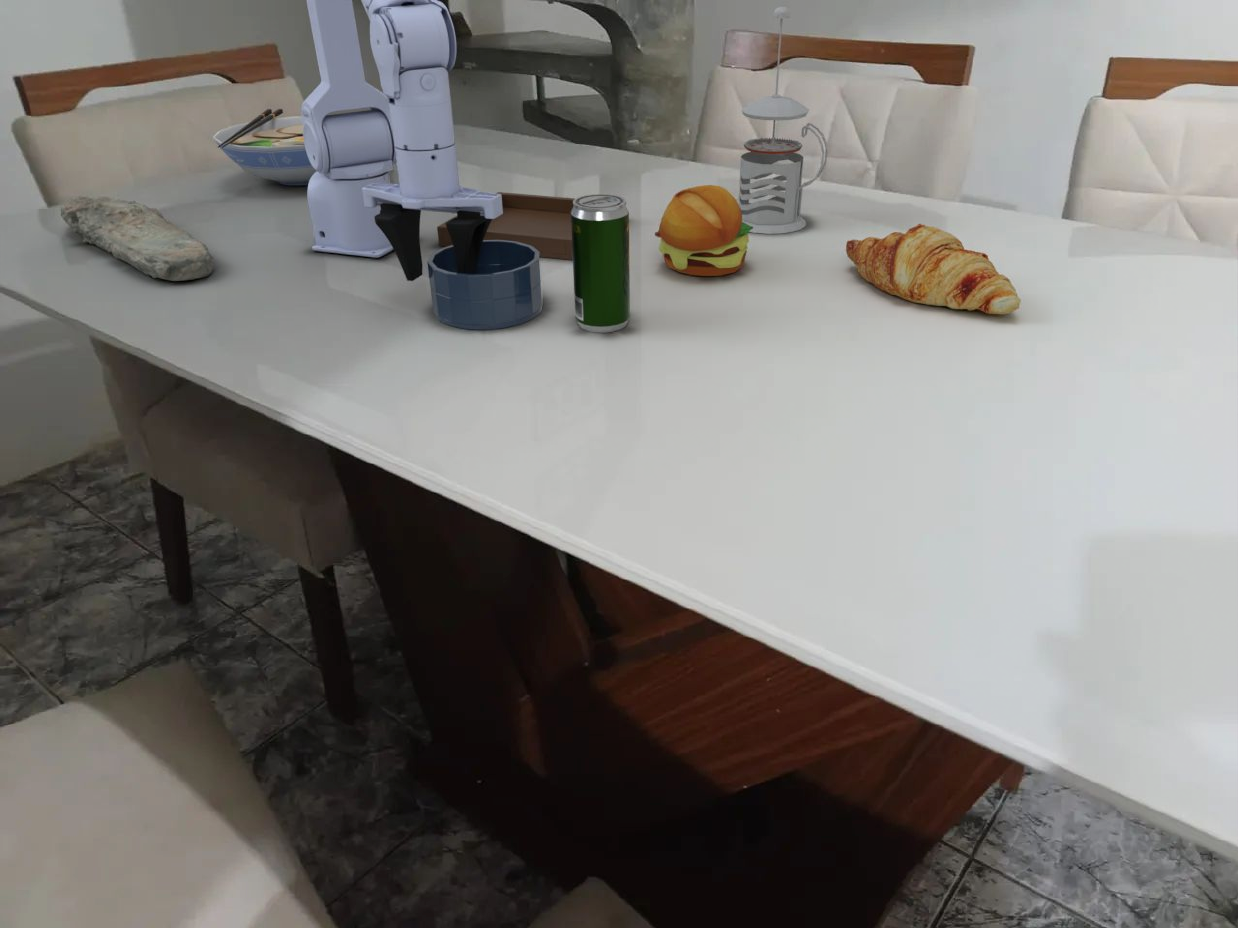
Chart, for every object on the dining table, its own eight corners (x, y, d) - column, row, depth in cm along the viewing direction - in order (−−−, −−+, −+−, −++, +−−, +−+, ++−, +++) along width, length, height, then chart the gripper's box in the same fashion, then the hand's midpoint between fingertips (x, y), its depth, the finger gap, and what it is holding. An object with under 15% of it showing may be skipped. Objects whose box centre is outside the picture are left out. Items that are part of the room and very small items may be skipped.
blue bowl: (414, 322, 93) (407, 268, 90) (466, 285, 102) (461, 235, 99) (514, 335, 90) (509, 280, 87) (559, 296, 98) (556, 245, 96)
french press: (744, 208, 126) (755, 2, 113) (829, 218, 121) (850, 4, 108) (718, 228, 118) (727, 9, 105) (807, 239, 114) (828, 12, 101)
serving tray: (438, 246, 114) (436, 226, 112) (499, 209, 127) (498, 191, 126) (572, 260, 108) (571, 240, 107) (621, 220, 122) (620, 202, 120)
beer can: (594, 338, 89) (590, 213, 82) (565, 320, 93) (559, 199, 86) (640, 325, 91) (640, 202, 85) (610, 309, 95) (608, 190, 89)
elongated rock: (152, 305, 101) (240, 286, 108) (142, 258, 99) (234, 242, 105) (45, 223, 122) (125, 212, 128) (35, 183, 119) (116, 173, 126)
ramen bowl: (356, 201, 132) (347, 141, 127) (196, 203, 132) (181, 143, 128) (395, 160, 153) (388, 107, 149) (257, 161, 153) (246, 109, 149)
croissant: (1023, 346, 94) (1061, 270, 92) (982, 325, 86) (1022, 242, 85) (856, 286, 108) (885, 219, 106) (808, 263, 101) (839, 192, 99)
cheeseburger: (763, 254, 108) (763, 175, 102) (732, 306, 102) (731, 224, 95) (681, 243, 112) (676, 165, 105) (647, 292, 105) (639, 212, 98)
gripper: (336, 149, 88) (358, 286, 95) (473, 159, 84) (486, 302, 91) (377, 133, 94) (396, 264, 101) (507, 142, 89) (517, 278, 96)
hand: (441, 281), depth 96 cm, fingers open, 6 cm apart
